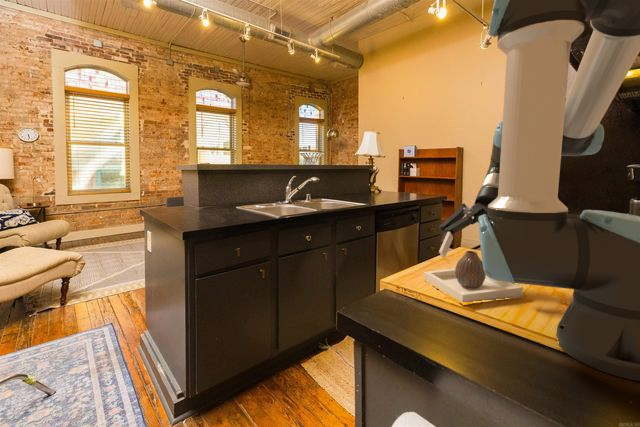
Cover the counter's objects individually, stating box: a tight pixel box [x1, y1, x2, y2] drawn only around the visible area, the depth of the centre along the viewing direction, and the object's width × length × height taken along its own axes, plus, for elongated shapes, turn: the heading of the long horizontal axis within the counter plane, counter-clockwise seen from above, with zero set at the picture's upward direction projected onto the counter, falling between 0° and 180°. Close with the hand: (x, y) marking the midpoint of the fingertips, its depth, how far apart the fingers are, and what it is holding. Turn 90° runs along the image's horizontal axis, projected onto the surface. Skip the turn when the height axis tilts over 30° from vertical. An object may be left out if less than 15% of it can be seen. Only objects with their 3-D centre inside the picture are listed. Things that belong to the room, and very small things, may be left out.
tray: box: [423, 268, 524, 302], centre depth 81 cm, size 16×16×2 cm
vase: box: [454, 250, 486, 289], centre depth 80 cm, size 7×7×9 cm
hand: (468, 260), depth 79 cm, fingers open, 13 cm apart
